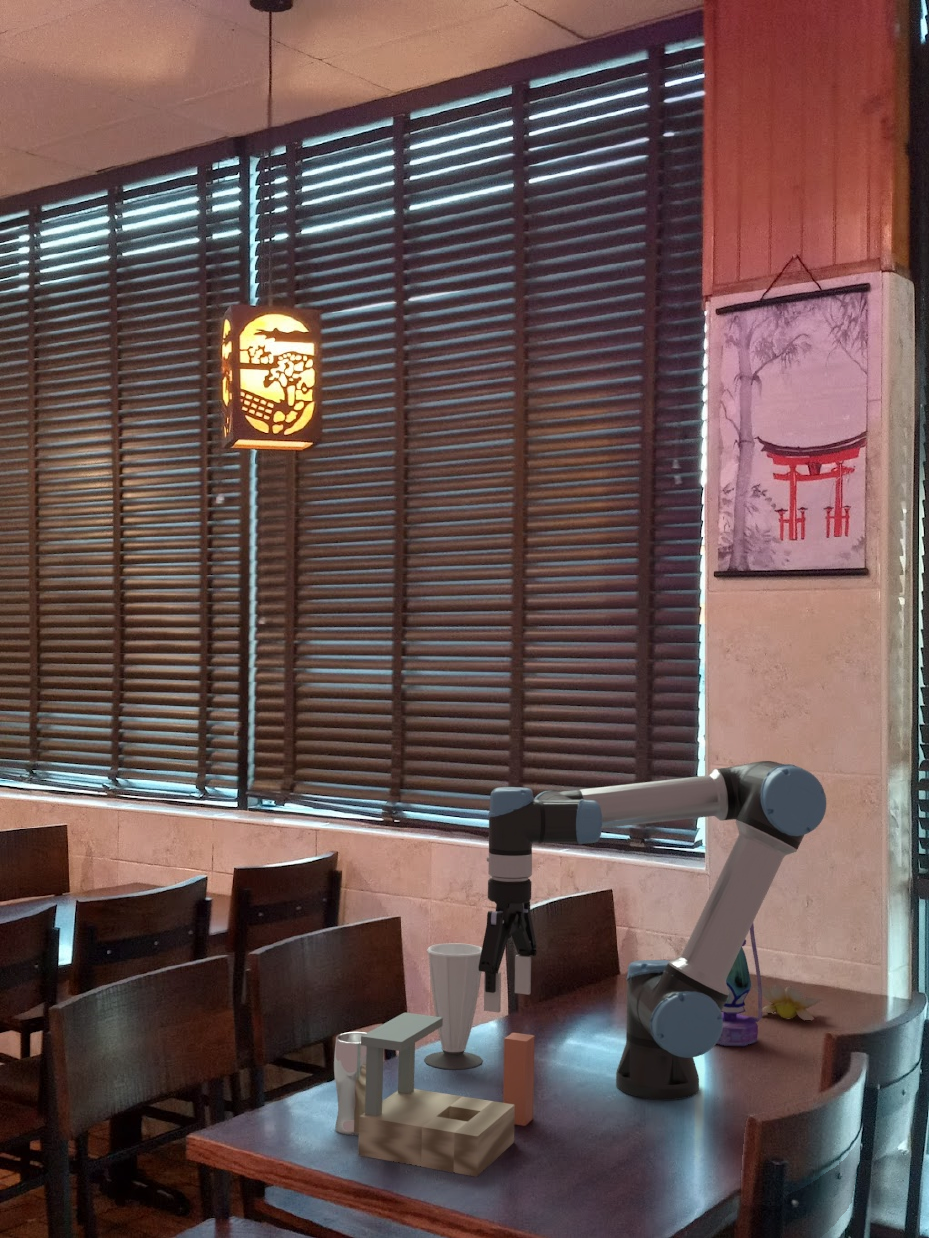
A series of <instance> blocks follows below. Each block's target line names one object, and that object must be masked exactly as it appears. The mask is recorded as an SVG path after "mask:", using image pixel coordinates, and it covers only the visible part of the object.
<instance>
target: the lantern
mask: <svg viewBox="0 0 929 1238" xmlns="http://www.w3.org/2000/svg"><path fill="white" fill-rule="evenodd" d="M754 927H755V926H754V922H753V923H752V926H751V928H750V930H749V933H750V935H749V936H750V942H751V949H752V955H753V961H754V965H755V973H756V981H757V986H758V992H757V994H758V997H757V998H758V999H757V1000H758V1002H757V1003H758V1011H757V1013H758V1016H757V1017H756V1016H755V1017H754V1016H747V1015H743V1014H742V1013H745V1012H746V1010H745V1006H746V1004H745V1000H746V998H747V996H748V994H749V992H750V991H751V989H752V981H751V976H750V971H749V966H748V961H747V957H746V953H745V951H744V949H743V948H744V947H745V946H746V945H747V940H746V939H745V940H744V943H743V945H742V947H741V949H740V951H739V953H738V955H737V957H736V959H735V962H734V964H733V966H732V968H731V970H730V972H729V974H728V976H727V979H726V984H727V987H728V990H729V996H728V998H727V1000H726V1002H725V1004H724V1007H723V1009H722V1011H721V1014H722V1019H723V1029H722V1033H721V1036H720V1038H719V1040H718V1042H717V1043H716V1044H715V1045H719V1044H720V1046H723V1045H724V1047H746V1046H749V1045H750V1044H755V1043H757V1042H758V1035H759V1029H758V1028H759V1025H758V1022H759V1021H760V1020H761V1019H763V1012H762V1008H763V996H762V988H761V986H762V978H761V976H762V975H761V970H760V964H759V963H760V961H759V957H758V956H759V955H758V949H757V944H756V938H755V937H756V935H755V928H754ZM748 1044H749V1045H748Z"/></svg>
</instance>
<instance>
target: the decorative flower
mask: <svg viewBox="0 0 929 1238" xmlns="http://www.w3.org/2000/svg"><path fill="white" fill-rule="evenodd" d="M761 988H762V998H764V999H765V1000H766V1001H768V1002H769V1003H770V1004H768V1005H765V1006H762V1013H766V1012H768V1013H771V1012H773V1013H774V1012H776V1014H778V1015H779V1016H780V1017H781V1018H782V1017H783V1018H792V1019H794V1018H795V1017H796V1016H797V1015H798V1017H799V1018H800V1019H802V1020H803V1021H805V1020H811V1021H813V1020H815V1018H814V1016H813V1015H812V1014H811V1013H810V1012H809V1011H808V1010H807V1009H809V1008H810V1007H813V1006H816V1005H817V1004H818V1003H820V1002H821V1001H823V999H820V998H814V997H808V996H806V997H804V994H803V993H802V991H801V990H799V989H796V988H795V987H794V986H791V985H789V986H786V987H785V988H784V987H783V986H782V985H779V984H778V985H772V986H771V987H767V986H764V985H761ZM752 989H753V990H754V991H755V992H757V993H758V985H756V986H754V987H752ZM768 1013H767V1014H768ZM793 1017H794V1018H793ZM783 1018H782V1019H783Z"/></svg>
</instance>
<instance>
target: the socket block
mask: <svg viewBox="0 0 929 1238" xmlns="http://www.w3.org/2000/svg"><path fill="white" fill-rule="evenodd" d="M514 1115H515V1105H514V1104H507V1103H503V1102H500V1101H494V1100H487V1099H481V1098H474V1097H468V1096H463V1095H462V1096H461V1095H454V1094H449V1093H443V1092H436V1091H431V1090H430V1091H429V1090H424V1089H423V1090H422V1089H419V1088H414V1091H413V1092H412V1093H410V1094H403V1093H398V1090H396V1091H394V1092H393V1093H392V1094H390V1095H389V1096H388V1097H386V1098H385V1099H382V1113H381V1114H380V1115H378V1116H377V1117H375V1116H369V1115H365V1113H363V1114H362V1115H360V1116H359V1135H358V1147H357V1148H358V1149H357V1150H358V1151H357V1152H358V1153H357V1155H358V1156H360V1157H361V1156H362V1157H366V1158H372V1159H377V1160H378V1159H379V1160H383V1161H388V1162H393V1161H394V1162H393V1163H398V1162H400V1164H404V1163H406V1165H409V1164H412V1165H411V1166H415V1165H417V1166H416V1167H420V1166H421V1167H422V1168H426V1169H433V1170H436V1171H442V1170H443V1172H450V1173H453V1172H455V1174H458V1175H459V1174H460V1175H464V1176H470V1175H471V1176H470V1177H475V1178H477V1177H478V1176H479V1175H480V1174H482V1173H483V1172H484V1171H486V1169H487V1168H488V1167H489V1166H490V1165H491V1164H493V1162H494V1161H495V1160H497V1159H498V1157H500V1156H501V1155H502V1154H503V1153H504V1152H506V1150H507V1149H508V1148H510V1147H511V1146H512V1145H513V1144H514V1143H515V1124H514ZM483 1170H484V1171H483Z"/></svg>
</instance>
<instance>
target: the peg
mask: <svg viewBox="0 0 929 1238" xmlns="http://www.w3.org/2000/svg"><path fill="white" fill-rule="evenodd" d="M535 1037H536V1036H535V1034H534V1035H533V1034H528V1033H527V1034H526V1033H519V1032H511V1033H509V1035H507V1036H505V1037H504V1041H503V1042H504V1043H503V1047H504V1048H503V1091H502V1093H503V1096H502V1097H503V1098H502V1099H503V1100H502V1103H507V1104H514V1105H515V1115H514V1125H517V1126H523V1127H525V1126H527V1125H528V1124H529V1123H530V1122H531V1121H533V1119H534V1091H535V1083H534V1082H535V1081H534V1080H535V1039H536V1038H535Z"/></svg>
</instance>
